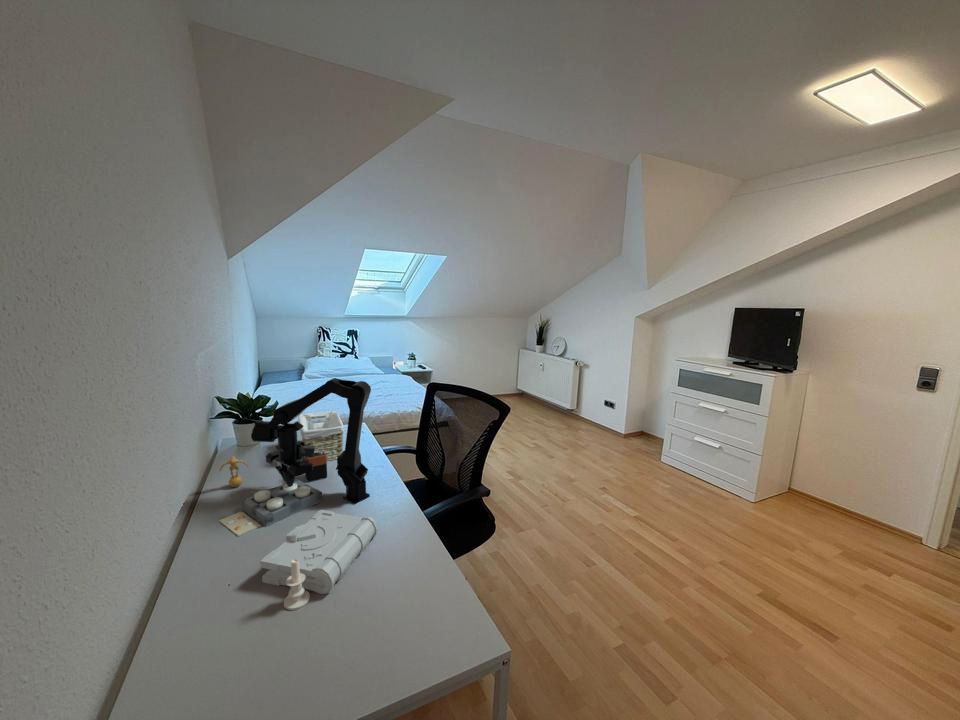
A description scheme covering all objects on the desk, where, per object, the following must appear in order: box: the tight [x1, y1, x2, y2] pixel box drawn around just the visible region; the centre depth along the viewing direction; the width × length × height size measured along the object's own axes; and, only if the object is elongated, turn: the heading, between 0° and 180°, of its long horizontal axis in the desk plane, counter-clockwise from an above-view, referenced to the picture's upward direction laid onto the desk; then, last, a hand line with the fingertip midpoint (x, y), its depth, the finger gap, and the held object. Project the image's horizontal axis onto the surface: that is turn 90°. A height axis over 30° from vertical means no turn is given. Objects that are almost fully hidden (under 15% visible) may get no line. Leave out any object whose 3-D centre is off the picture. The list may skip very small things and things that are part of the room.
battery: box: [304, 450, 328, 483], centre depth 141 cm, size 4×7×10 cm, turn 127°
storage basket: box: [297, 410, 345, 462], centre depth 163 cm, size 24×16×15 cm
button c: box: [267, 497, 283, 511], centre depth 116 cm, size 4×4×2 cm
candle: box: [283, 559, 311, 611], centre depth 84 cm, size 5×5×10 cm
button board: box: [241, 478, 324, 527], centre depth 123 cm, size 15×18×3 cm
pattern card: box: [219, 511, 261, 537], centre depth 112 cm, size 12×6×1 cm, turn 56°
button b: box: [283, 483, 298, 492], centre depth 128 cm, size 4×4×2 cm
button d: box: [253, 489, 271, 503], centre depth 121 cm, size 4×4×2 cm
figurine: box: [219, 455, 249, 488], centre depth 132 cm, size 8×6×12 cm
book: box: [260, 509, 379, 595], centre depth 101 cm, size 19×28×8 cm
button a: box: [295, 486, 310, 499], centre depth 124 cm, size 4×4×2 cm
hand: (290, 486), depth 128 cm, fingers closed, pressing on button b
